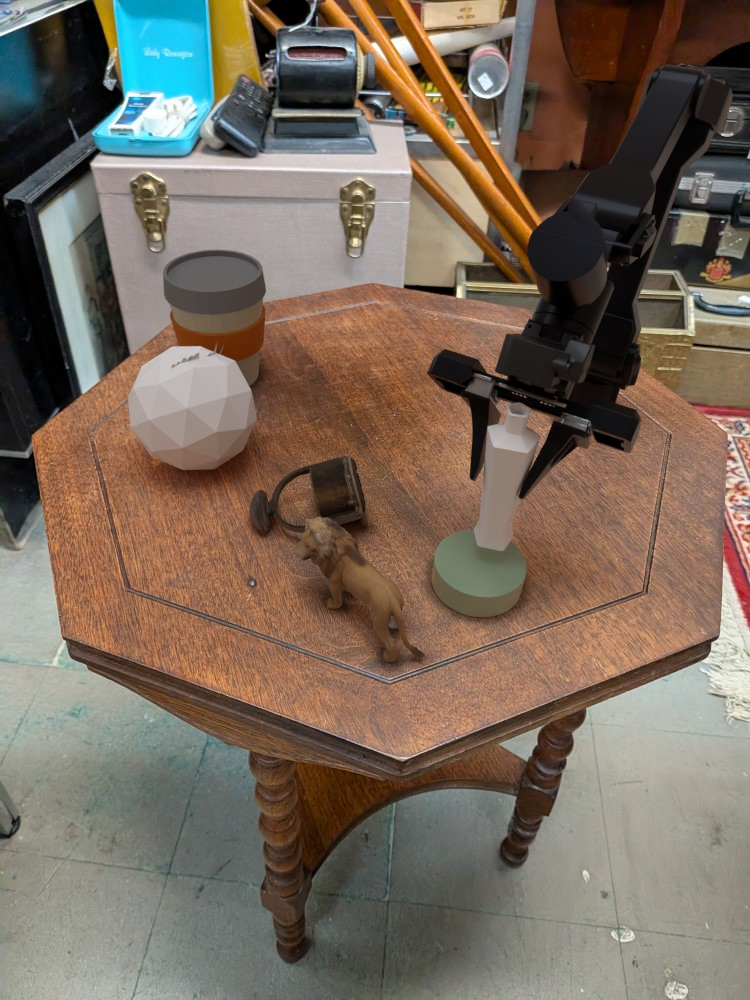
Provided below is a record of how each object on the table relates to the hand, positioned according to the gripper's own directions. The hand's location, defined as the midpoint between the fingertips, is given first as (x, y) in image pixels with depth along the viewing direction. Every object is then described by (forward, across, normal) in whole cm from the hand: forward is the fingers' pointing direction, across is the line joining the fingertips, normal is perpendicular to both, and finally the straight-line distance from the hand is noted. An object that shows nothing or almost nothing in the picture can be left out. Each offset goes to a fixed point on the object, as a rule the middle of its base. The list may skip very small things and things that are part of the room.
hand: (496, 489), depth 65 cm
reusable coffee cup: (-2, -45, +20) cm, 49 cm away
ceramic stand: (+9, 0, +8) cm, 12 cm away
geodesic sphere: (+8, -36, +9) cm, 38 cm away
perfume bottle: (+4, 0, +6) cm, 7 cm away
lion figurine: (+16, -8, +1) cm, 18 cm away
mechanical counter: (+9, -19, +8) cm, 23 cm away
